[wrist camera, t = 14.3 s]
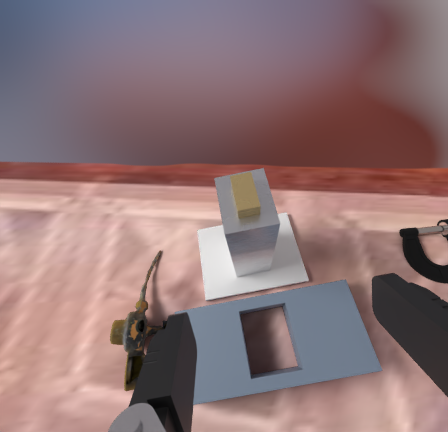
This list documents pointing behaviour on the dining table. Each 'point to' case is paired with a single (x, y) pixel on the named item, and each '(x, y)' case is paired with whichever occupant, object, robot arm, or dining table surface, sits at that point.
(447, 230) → the micrometer
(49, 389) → the dining table surface
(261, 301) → the body
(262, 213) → the grey yellow-tipped rectangular bar
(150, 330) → the regulator
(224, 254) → the mat
